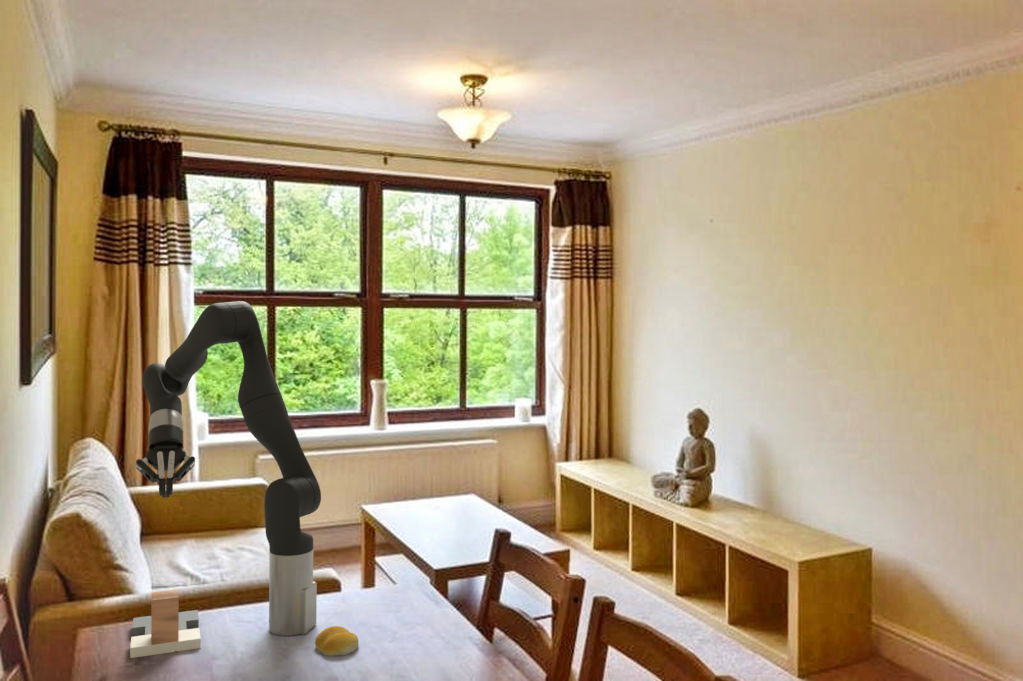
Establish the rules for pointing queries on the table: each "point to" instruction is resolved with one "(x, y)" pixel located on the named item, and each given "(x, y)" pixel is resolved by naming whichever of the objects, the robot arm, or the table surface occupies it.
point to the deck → (185, 622)
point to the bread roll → (336, 641)
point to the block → (164, 617)
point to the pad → (165, 644)
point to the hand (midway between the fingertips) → (166, 495)
